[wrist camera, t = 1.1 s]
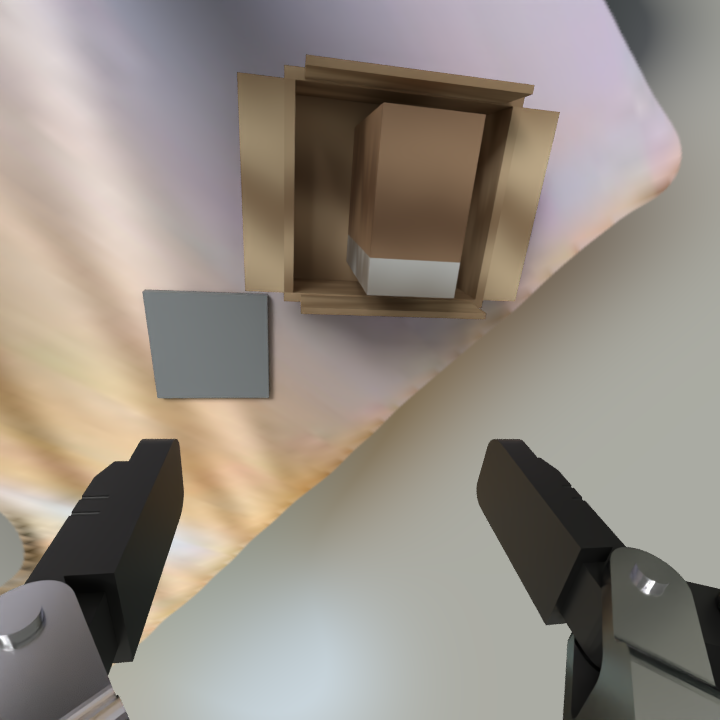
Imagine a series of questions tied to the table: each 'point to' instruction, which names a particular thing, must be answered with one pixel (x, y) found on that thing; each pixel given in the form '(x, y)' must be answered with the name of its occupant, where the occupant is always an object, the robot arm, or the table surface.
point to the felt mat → (208, 343)
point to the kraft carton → (334, 171)
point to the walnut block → (411, 198)
